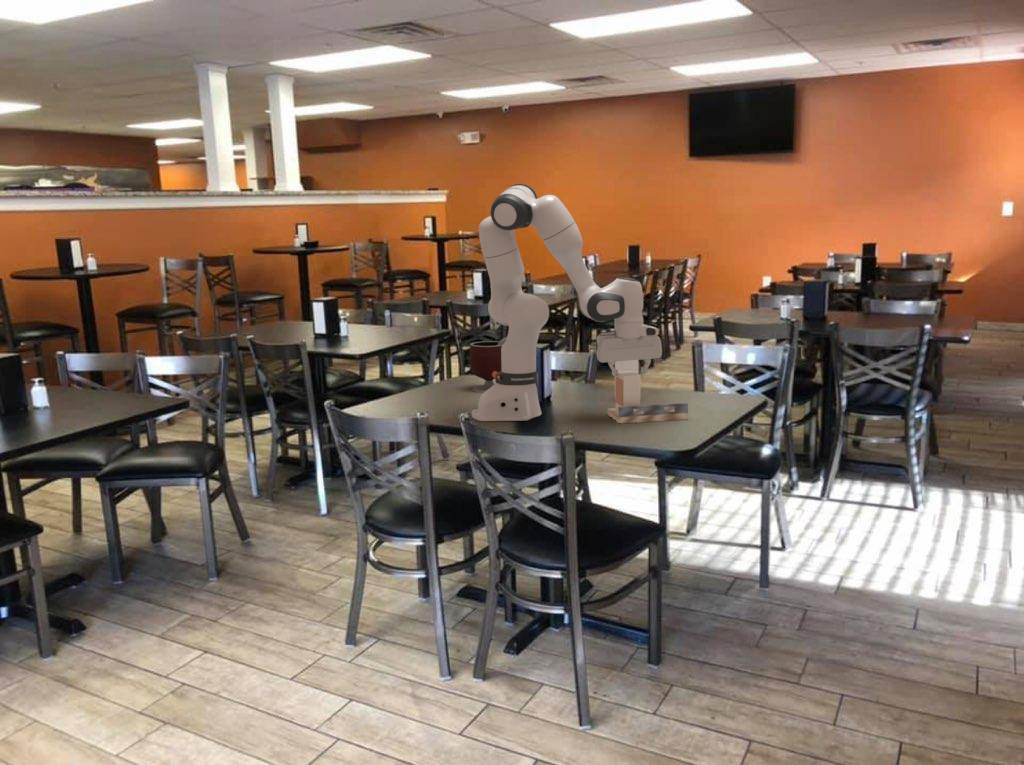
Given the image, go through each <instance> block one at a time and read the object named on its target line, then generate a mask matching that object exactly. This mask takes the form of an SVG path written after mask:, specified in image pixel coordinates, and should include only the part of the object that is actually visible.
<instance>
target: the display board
mask: <svg viewBox="0 0 1024 765" xmlns="http://www.w3.org/2000/svg"><path fill="white" fill-rule="evenodd" d="M688 408H689V404H688V402H680V403H679V402H677V403H676V402H675V403H662V404H661V403H660V404H659V403H658V404H644V405H643V404H642V405H641V404H640V406H625V407H619V411H618V410H616V407H615V408H607V416H609V418H611V417H612V418H611V419H613V421H615V420H616V421H615V422H617V423H618V424H619V423H621V424H632V423H633V424H634V423H635V422H636V423H648V422H651V423H653V422H662V421H663V422H665V421H679V420H680V421H681V420H688V418H689V417H688V410H689V409H688ZM636 423H635V424H636Z"/></svg>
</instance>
